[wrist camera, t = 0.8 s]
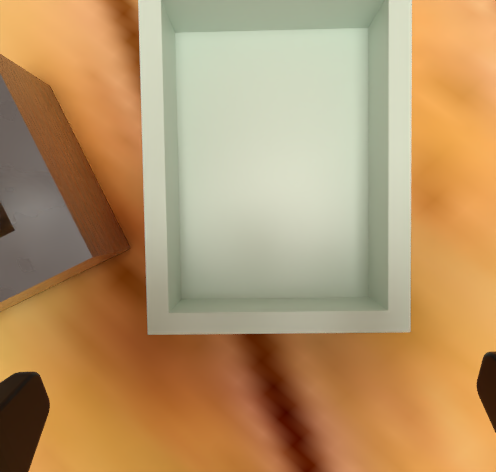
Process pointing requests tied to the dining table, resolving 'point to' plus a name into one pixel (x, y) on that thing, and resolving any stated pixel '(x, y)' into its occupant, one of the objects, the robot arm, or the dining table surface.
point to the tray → (276, 165)
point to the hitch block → (46, 193)
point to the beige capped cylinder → (4, 223)
